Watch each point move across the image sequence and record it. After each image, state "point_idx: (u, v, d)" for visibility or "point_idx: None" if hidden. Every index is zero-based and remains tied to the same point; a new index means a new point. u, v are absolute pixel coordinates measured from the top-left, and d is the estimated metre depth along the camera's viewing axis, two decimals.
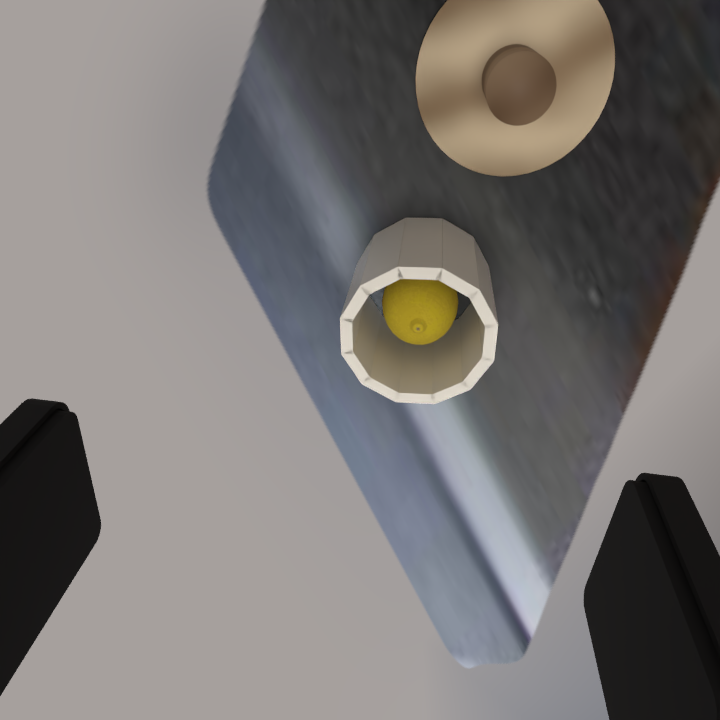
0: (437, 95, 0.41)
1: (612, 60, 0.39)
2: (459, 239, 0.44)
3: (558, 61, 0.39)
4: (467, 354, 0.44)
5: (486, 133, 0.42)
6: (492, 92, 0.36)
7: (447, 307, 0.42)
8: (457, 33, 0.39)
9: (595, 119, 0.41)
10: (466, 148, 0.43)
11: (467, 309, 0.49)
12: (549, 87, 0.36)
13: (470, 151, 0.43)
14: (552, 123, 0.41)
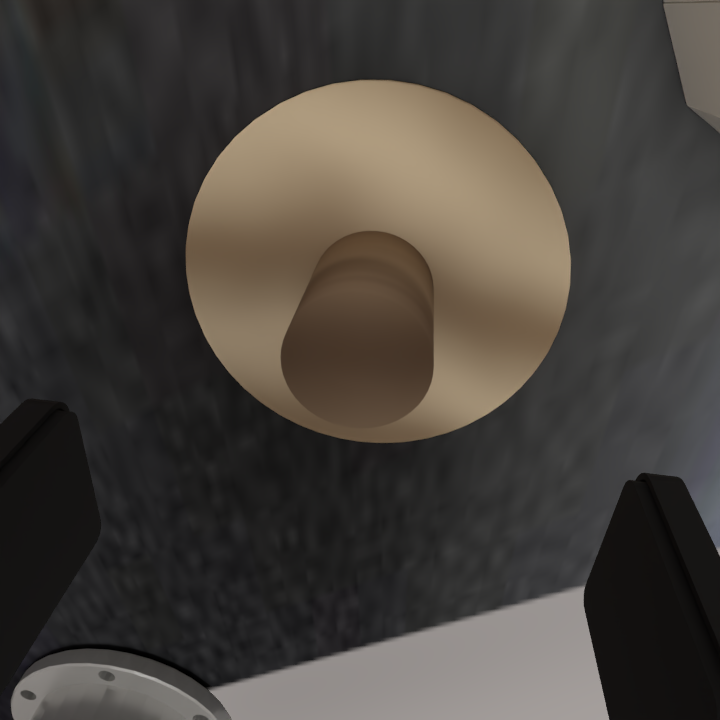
0: (507, 344, 0.21)
1: (197, 209, 0.20)
2: (712, 62, 0.14)
3: (286, 266, 0.20)
4: None
5: (472, 231, 0.19)
6: (410, 393, 0.16)
7: None
8: None
9: (261, 120, 0.18)
10: (525, 227, 0.19)
11: None
12: (301, 335, 0.16)
13: (522, 218, 0.19)
14: (345, 167, 0.18)
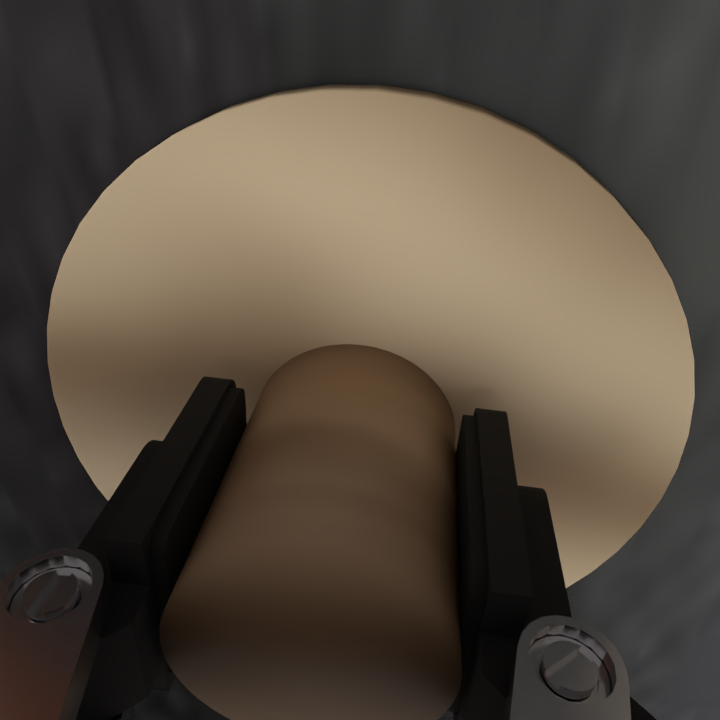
0: (574, 514, 0.13)
1: (57, 306, 0.12)
2: None
3: None
4: None
5: (523, 348, 0.11)
6: (415, 709, 0.08)
7: None
8: None
9: (147, 162, 0.10)
10: (618, 344, 0.11)
11: None
12: (196, 613, 0.08)
13: (614, 329, 0.11)
14: (300, 242, 0.10)
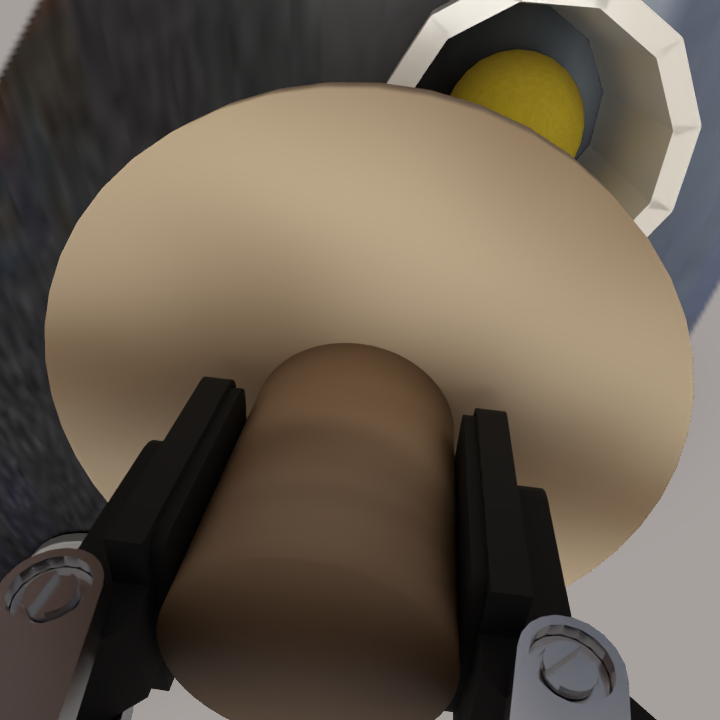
0: (573, 513, 0.13)
1: (55, 304, 0.12)
2: None
3: None
4: None
5: (522, 347, 0.11)
6: (414, 708, 0.08)
7: None
8: None
9: (145, 159, 0.10)
10: (617, 343, 0.11)
11: None
12: (193, 612, 0.08)
13: (614, 328, 0.11)
14: (298, 241, 0.10)
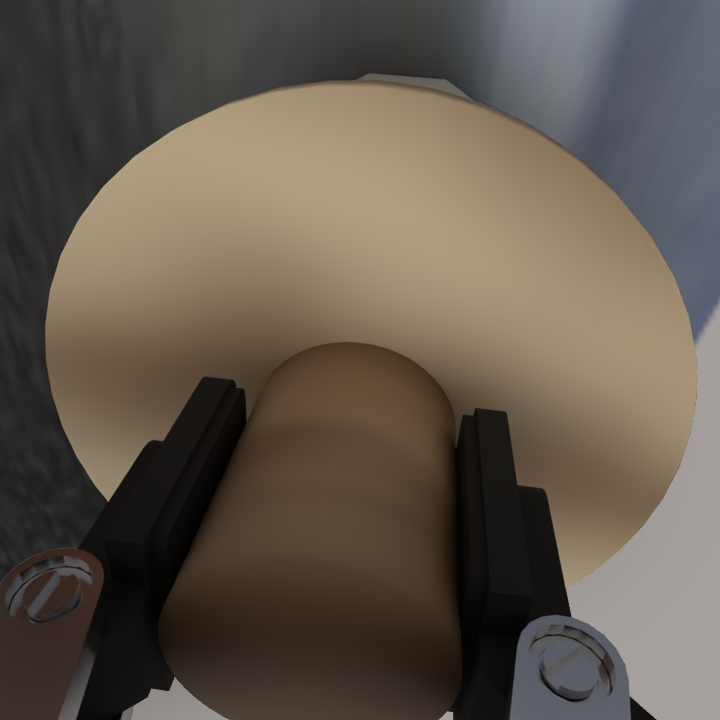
0: (575, 513, 0.13)
1: (55, 303, 0.12)
2: None
3: None
4: None
5: (525, 346, 0.11)
6: (416, 710, 0.08)
7: None
8: None
9: (147, 158, 0.10)
10: (619, 342, 0.11)
11: None
12: (195, 612, 0.08)
13: (616, 327, 0.10)
14: (300, 239, 0.10)
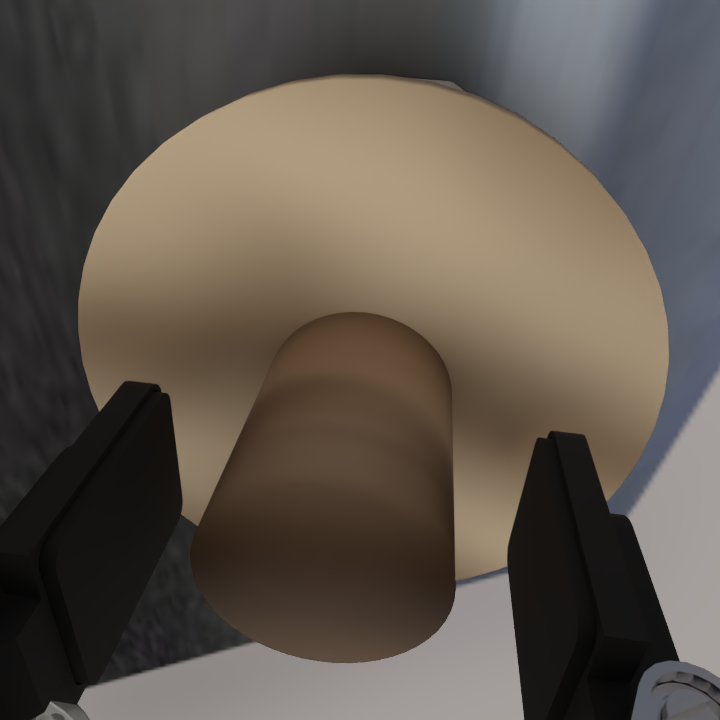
0: None
1: (88, 277, 0.13)
2: None
3: (229, 359, 0.13)
4: None
5: (514, 315, 0.12)
6: (415, 623, 0.09)
7: None
8: None
9: (174, 144, 0.11)
10: (599, 310, 0.12)
11: None
12: (223, 535, 0.09)
13: (595, 297, 0.12)
14: (311, 217, 0.12)
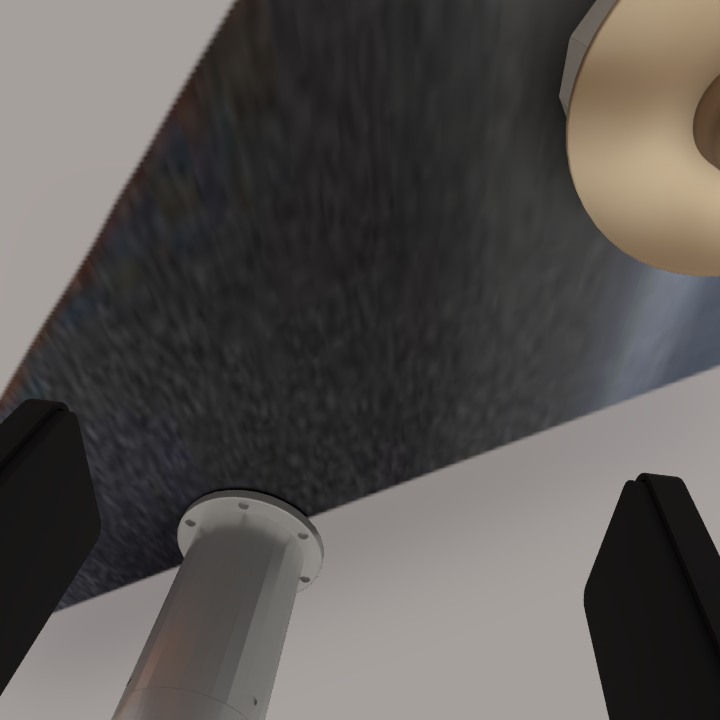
0: None
1: (601, 41, 0.21)
2: None
3: (674, 95, 0.22)
4: None
5: None
6: None
7: None
8: None
9: None
10: None
11: None
12: None
13: None
14: None
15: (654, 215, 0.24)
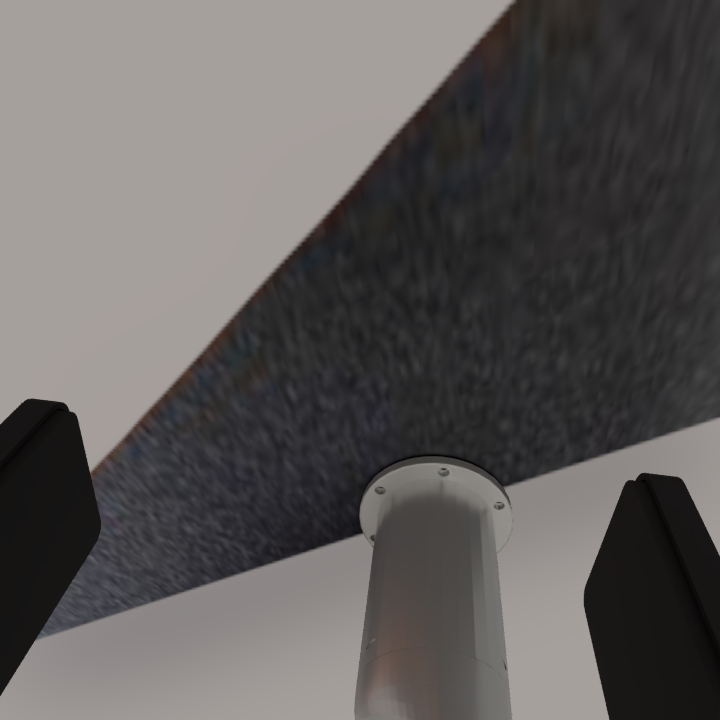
0: None
1: None
2: None
3: None
4: None
5: None
6: None
7: None
8: None
9: None
10: None
11: None
12: None
13: None
14: None
15: None
